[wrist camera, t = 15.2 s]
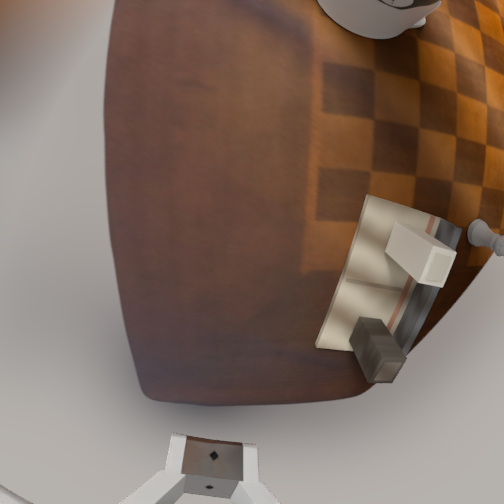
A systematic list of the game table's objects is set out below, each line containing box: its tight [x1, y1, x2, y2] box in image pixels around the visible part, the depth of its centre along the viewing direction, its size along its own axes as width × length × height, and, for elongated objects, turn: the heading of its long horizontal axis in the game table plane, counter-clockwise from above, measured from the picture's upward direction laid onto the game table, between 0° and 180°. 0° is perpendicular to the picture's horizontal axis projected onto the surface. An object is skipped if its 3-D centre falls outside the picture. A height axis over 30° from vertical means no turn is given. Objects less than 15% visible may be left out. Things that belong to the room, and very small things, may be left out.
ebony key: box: [349, 316, 407, 383], centre depth 39 cm, size 4×4×10 cm
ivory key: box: [385, 221, 457, 288], centre depth 34 cm, size 4×4×10 cm
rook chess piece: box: [467, 219, 504, 256], centre depth 36 cm, size 4×4×8 cm
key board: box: [315, 194, 462, 356], centre depth 40 cm, size 24×14×5 cm, turn 168°
